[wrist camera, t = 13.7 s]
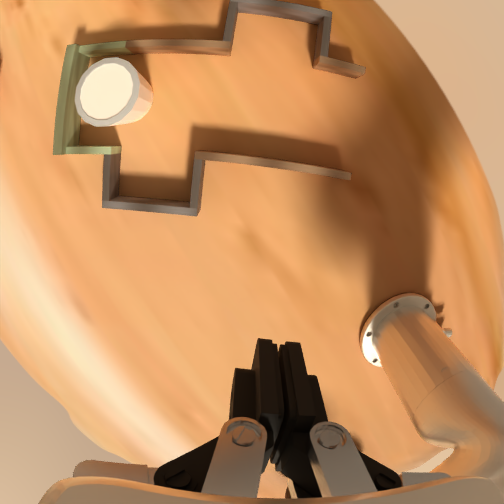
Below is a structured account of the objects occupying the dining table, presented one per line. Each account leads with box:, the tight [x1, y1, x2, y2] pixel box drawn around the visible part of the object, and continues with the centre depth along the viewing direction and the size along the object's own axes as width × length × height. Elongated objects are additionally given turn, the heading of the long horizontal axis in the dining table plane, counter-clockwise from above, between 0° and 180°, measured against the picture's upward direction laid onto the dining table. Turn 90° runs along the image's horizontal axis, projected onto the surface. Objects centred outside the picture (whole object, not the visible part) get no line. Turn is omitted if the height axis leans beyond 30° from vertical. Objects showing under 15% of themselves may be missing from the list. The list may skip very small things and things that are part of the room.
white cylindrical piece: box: [75, 57, 153, 127], centre depth 26 cm, size 7×7×7 cm
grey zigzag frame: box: [53, 0, 366, 216], centre depth 28 cm, size 32×24×4 cm
